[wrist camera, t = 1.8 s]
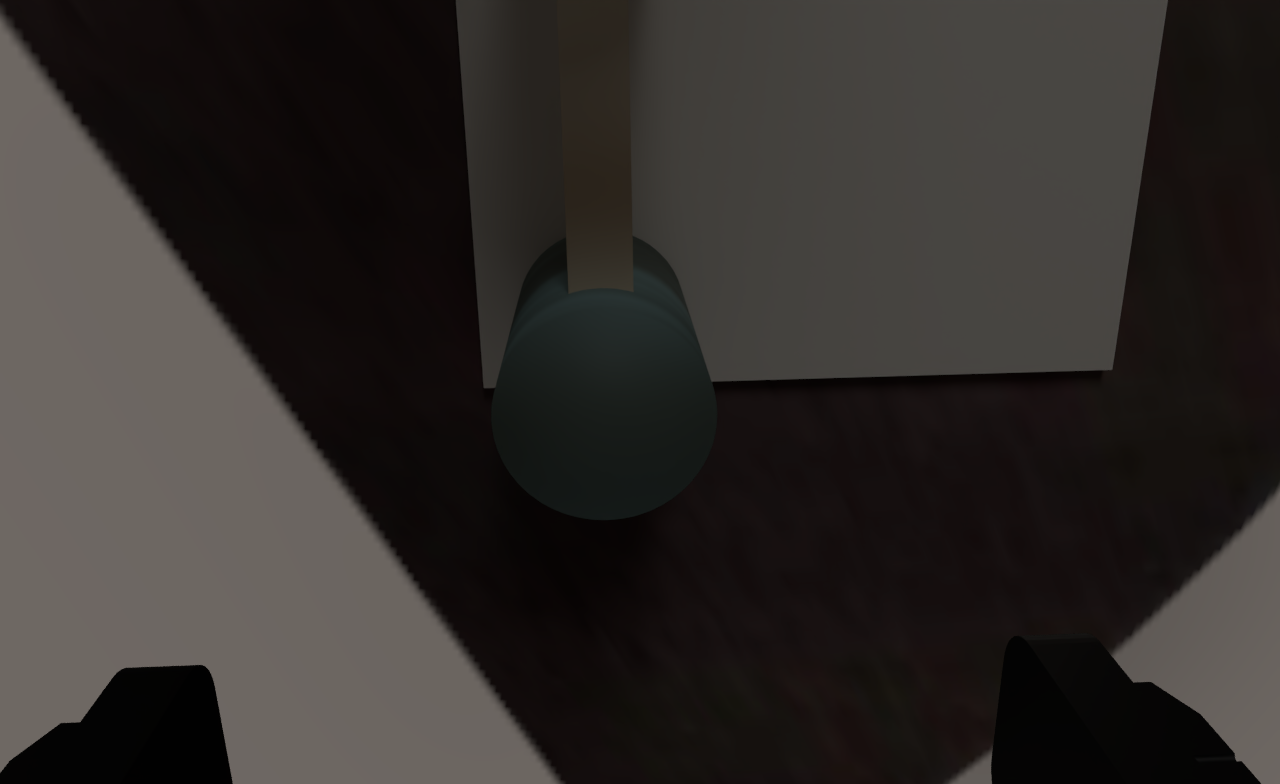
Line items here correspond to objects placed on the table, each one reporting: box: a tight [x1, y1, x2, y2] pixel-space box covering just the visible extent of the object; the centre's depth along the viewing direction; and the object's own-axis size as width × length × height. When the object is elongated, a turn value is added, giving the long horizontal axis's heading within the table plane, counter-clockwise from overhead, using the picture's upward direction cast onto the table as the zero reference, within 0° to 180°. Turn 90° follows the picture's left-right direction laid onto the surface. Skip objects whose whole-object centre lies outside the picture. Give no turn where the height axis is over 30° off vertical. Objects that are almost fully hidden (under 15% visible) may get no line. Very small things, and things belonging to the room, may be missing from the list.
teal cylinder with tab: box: [491, 0, 717, 520], centre depth 21 cm, size 10×4×7 cm, turn 1°
